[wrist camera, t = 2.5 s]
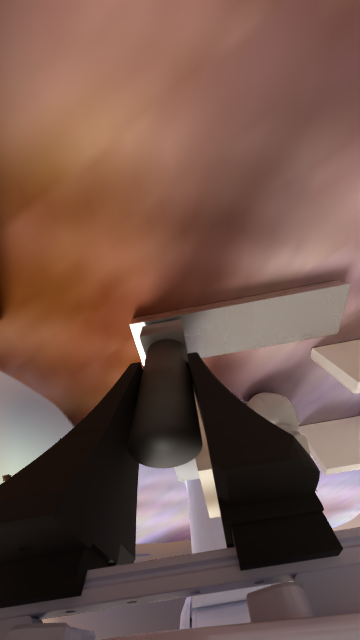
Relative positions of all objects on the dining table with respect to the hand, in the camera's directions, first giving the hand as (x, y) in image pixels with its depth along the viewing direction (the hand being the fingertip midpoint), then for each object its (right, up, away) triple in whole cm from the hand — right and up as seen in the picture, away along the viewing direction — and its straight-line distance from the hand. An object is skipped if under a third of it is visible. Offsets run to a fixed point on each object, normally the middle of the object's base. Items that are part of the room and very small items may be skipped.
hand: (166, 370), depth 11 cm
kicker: (+1, -4, +7) cm, 8 cm away
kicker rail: (+6, +3, +4) cm, 8 cm away
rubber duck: (+10, -6, +9) cm, 15 cm away
